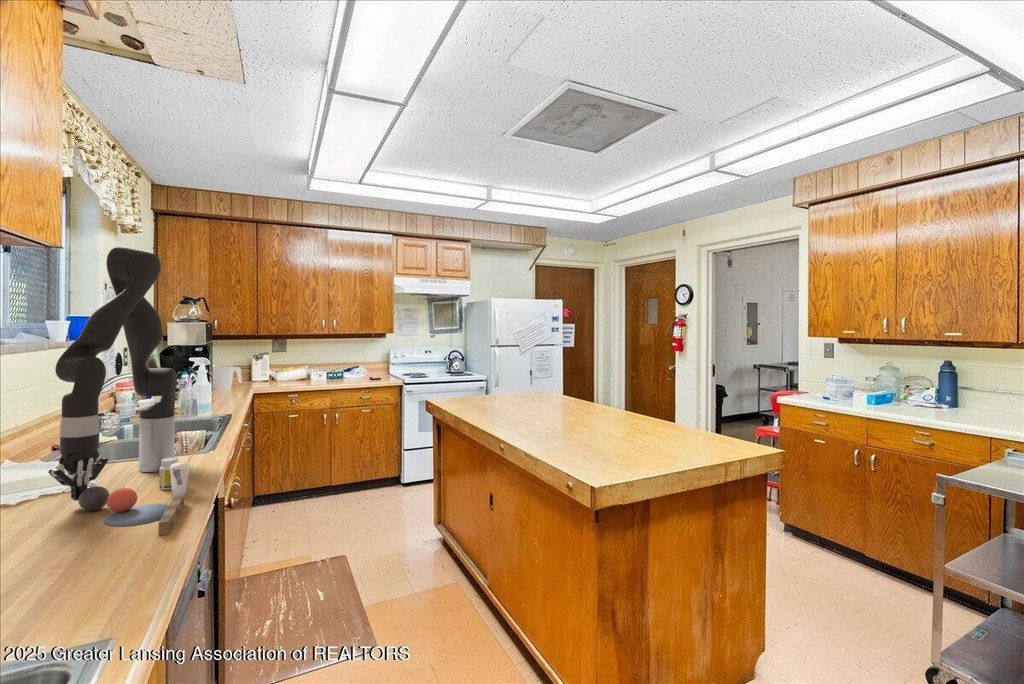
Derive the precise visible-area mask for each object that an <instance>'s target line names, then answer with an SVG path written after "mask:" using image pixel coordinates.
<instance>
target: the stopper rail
mask: <svg viewBox="0 0 1024 684" xmlns="http://www.w3.org/2000/svg"><path fill="white" fill-rule="evenodd" d="M185 495H186V494H185V493H184V494H175V496H173V498H172V500H171V501H170V503H169V504H168V505H169V506H168V508H167V509H166V511H165V513H164V514H163V516H162V518H161V519H160V520H158V521H159V522H158V531H157V532H158V533H157V534H158V536H166V535H170V533H171V532H172V530H173V528H174V525H175V523H176V522H177V520H178V518H179V516H180V514H181V512H182V510H183V508H184V506H185Z"/></svg>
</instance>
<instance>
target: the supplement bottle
mask: <svg viewBox="0 0 1024 684" xmlns="http://www.w3.org/2000/svg"><path fill="white" fill-rule="evenodd" d="M177 462H179V458H178V457H174V458H166V459H163V460H161V465H162V466H161V467H160V471H159V477H158V478H159V481H158V482H159V486H158V487H159V488H158V489H159V490H161V491H169V490H171V491H172V485H171V473H170V466H171V465H172V464H174V463H177Z"/></svg>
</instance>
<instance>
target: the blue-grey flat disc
mask: <svg viewBox="0 0 1024 684" xmlns="http://www.w3.org/2000/svg"><path fill="white" fill-rule="evenodd" d="M168 506H169V504H166V503H152V504H150V503H149V504H142V505H137V506H133V507H132V508H131V509H129V510H127V511H125V512H112V513H111V514H110V515H109V514H108V516H106V517H105V518H104V524H105V525H106V526H107V525H108V526H111V527H133V526H140V525H145V524H150V523H153V522H157V521H160V519H161V518H162V516H163V514H164V513H165V511H166V509H167V508H168Z"/></svg>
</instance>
